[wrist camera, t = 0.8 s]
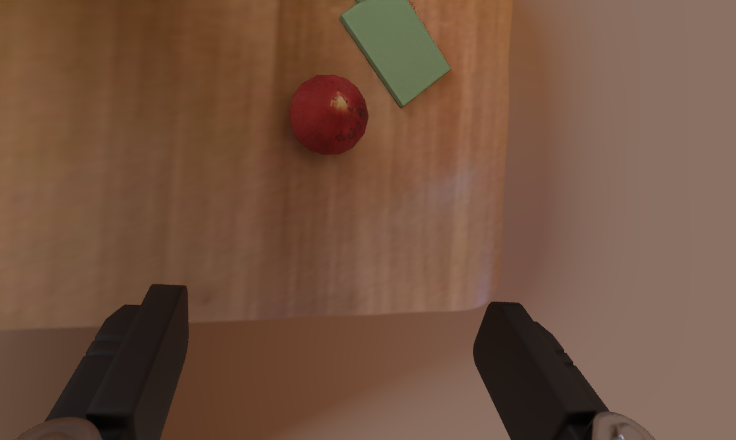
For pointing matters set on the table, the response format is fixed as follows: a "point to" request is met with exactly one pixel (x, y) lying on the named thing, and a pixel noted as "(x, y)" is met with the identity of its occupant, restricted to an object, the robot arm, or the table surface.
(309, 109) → the onion
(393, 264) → the table surface
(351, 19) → the spatula
